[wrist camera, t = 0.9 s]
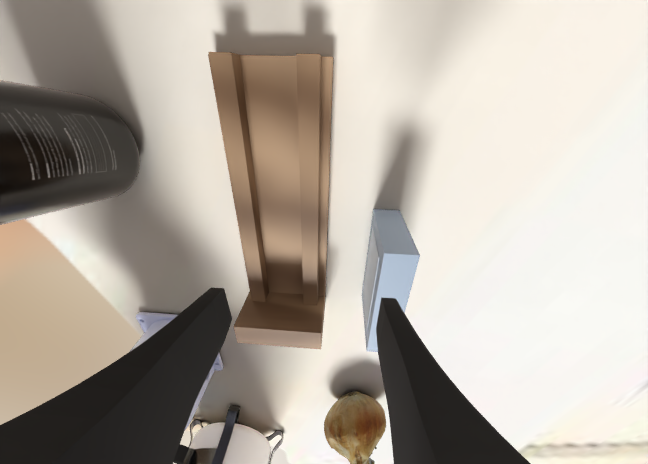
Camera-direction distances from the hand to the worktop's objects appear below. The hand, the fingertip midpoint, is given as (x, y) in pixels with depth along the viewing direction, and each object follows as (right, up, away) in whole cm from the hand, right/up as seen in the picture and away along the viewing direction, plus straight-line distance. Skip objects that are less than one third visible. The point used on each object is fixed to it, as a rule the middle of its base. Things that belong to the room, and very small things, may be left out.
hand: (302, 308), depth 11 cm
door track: (-2, +5, +8) cm, 10 cm away
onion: (+5, -18, +22) cm, 29 cm away
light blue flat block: (+6, +1, +10) cm, 12 cm away
